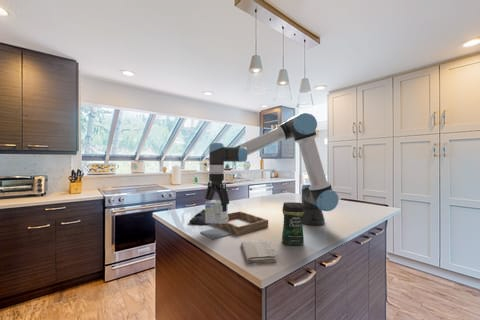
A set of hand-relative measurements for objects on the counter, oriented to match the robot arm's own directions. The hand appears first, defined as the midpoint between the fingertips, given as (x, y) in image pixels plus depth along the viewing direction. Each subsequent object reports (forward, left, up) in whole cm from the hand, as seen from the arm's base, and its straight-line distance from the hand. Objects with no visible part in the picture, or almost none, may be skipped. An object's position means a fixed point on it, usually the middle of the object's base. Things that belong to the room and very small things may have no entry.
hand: (216, 215), depth 112 cm
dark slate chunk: (+27, -7, -10) cm, 30 cm away
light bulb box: (0, 0, -4) cm, 4 cm away
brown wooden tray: (+4, -18, -9) cm, 21 cm away
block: (+12, -12, -10) cm, 19 cm away
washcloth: (-30, -1, -10) cm, 32 cm away
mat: (0, 0, -9) cm, 9 cm away
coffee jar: (-32, -21, -10) cm, 39 cm away
